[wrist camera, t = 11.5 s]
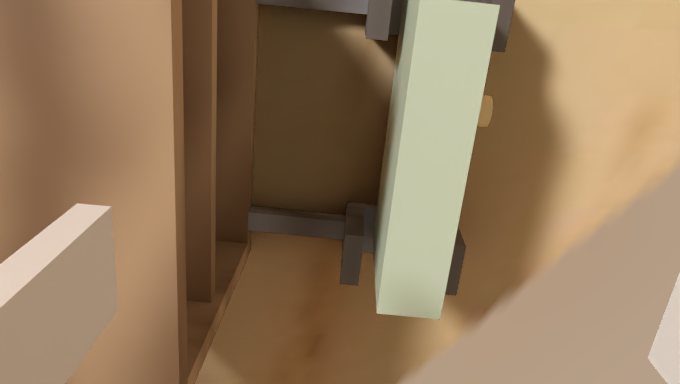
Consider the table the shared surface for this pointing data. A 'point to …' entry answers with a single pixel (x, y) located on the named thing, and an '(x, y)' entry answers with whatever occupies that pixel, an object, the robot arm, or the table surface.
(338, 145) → the table surface
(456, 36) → the door
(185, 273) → the wooden shelf unit
